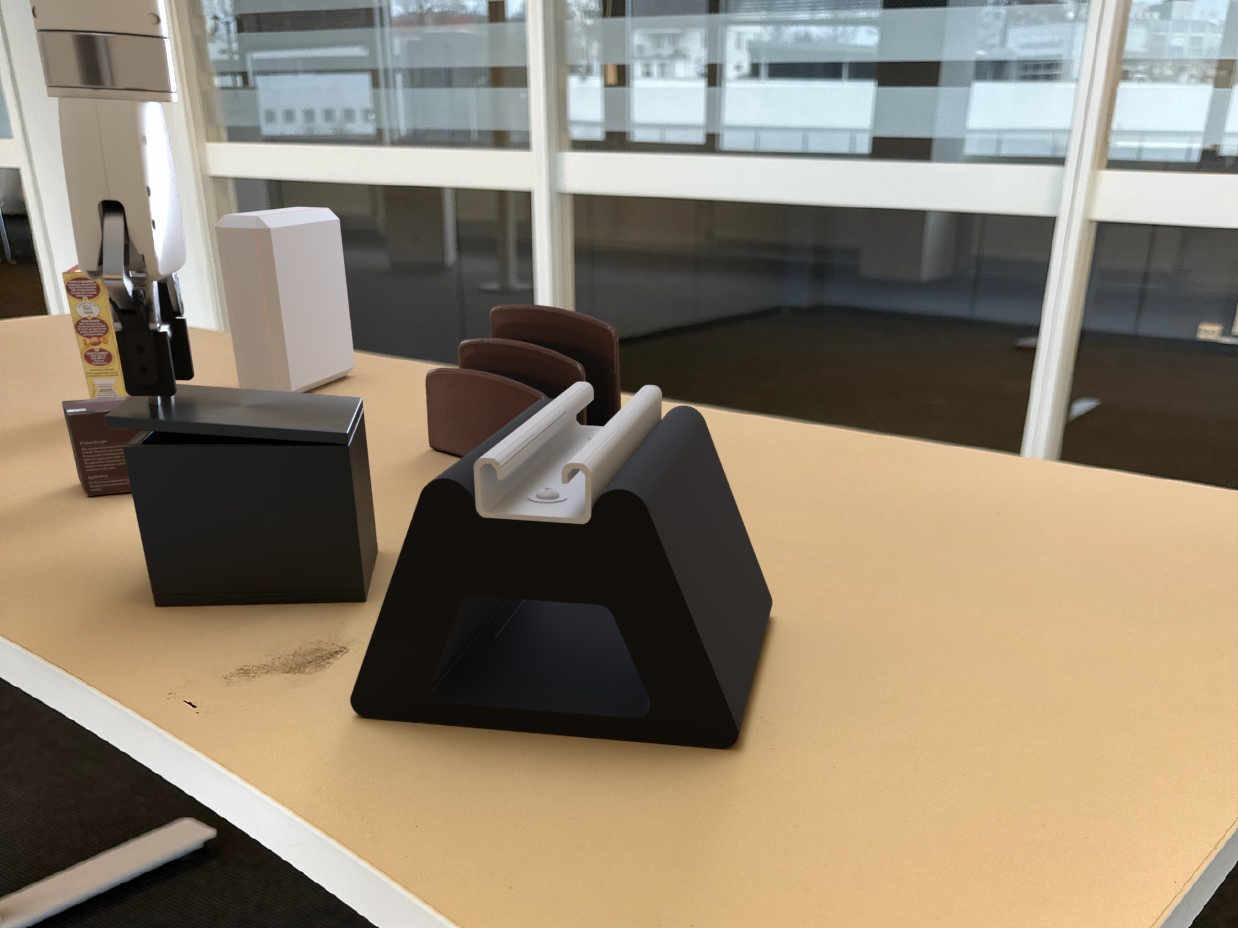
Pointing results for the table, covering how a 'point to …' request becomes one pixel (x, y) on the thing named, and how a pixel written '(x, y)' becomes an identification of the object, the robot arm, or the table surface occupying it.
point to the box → (98, 445)
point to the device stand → (575, 585)
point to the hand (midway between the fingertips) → (161, 384)
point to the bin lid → (240, 412)
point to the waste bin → (253, 518)
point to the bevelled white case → (286, 297)
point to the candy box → (95, 334)
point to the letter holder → (522, 374)
